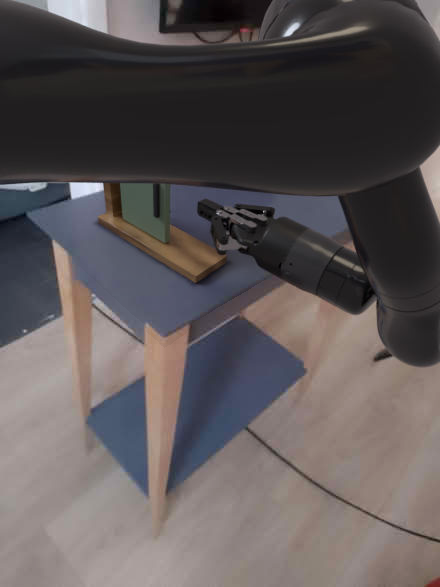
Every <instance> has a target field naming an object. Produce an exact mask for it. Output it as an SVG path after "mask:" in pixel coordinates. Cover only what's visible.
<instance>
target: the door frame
mask: <svg viewBox="0 0 440 587" xmlns="http://www.w3.org/2000/svg"><path fill="white" fill-rule="evenodd" d="M102 184H103V185H102V186H103V187H102V188H103V194H104V205H105V212H104V213H102V214H100V215H98V216H97V222H98V224H99V225H100V226H102V227H104V228H105V229H106V230H108V231H110V232H112V233H113V234H115V235H117V236H119V237H120V238H122V239H123V240H125V241H127V242H128V243H130V244H132V245H133V246H135V247H136V248H138V249H140V250H141V251H143V252H144V253H145V254H148V255H149V256H151V257H153V258H154V259H156V260H157V261H159V262H160V263H162V264H164V265H165V266H167V267H169V268H170V269H172V270H173V271H175V272H177V273H178V274H180V275H182V276H183V277H185V278H187V279H188V280H190V281H191V282H193V283H195V284H197V283H198V282H200V281H201V280H203V279H204V278H206V277H207V276H209V275H210V274H212V273H214V272H215V271H216V270H218V269H220V268H221V267H222V266H224V265H225V264H227V261H228V260H227V259H228V254H225V255H219V254H218V253H217V250H216V248H215V247H212V246H211V245H209V244H208V243H205V242H204V241H201V240H199V239H198V238H197V237H194V236H193V235H191V234H189V233H187V232H185V231H183V230H182V229H180V228H178V227H177V226H174V225H172V224H171V223H170V241H169V242H167V243H163V242H162V241H160V240H158V239H157V238H155V237H153V236H152V235H150V234H148V233H146V232H145V231H143V230H141V229H140V228H138V227H136V226H134V225H133V224H131V223H129V222H128V221H126V220H124V219H123V215H122V203H121V190H120V183H102Z"/></svg>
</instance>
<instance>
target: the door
mask: <svg viewBox="0 0 440 587" xmlns="http://www.w3.org/2000/svg"><path fill="white" fill-rule="evenodd" d="M120 190H121V203H122V215H123V219H124V220H126V221H128V222H129V223H131V224H133V225H134V226H136V227H138V228H140V229H141V230H143V231H145V232H146V233H148V234H150V235H152V236H153V237H155V238H157V239H158V240H160V241H162V242H163V243H167V242H169V241H170V224H171V184H141V183H120Z"/></svg>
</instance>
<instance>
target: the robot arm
mask: <svg viewBox="0 0 440 587" xmlns="http://www.w3.org/2000/svg"><path fill="white" fill-rule="evenodd" d="M260 25H261V26H260V28H259V32H258V36H257V40H249V41H248V40H247V41H233V42H219V43H217V42H216V43H203V44H160V43H152V42H141V41H136V40H132V39H128V38H124V37H119V36H116V35H112V34H109V33H107V32H104V31H100V30H97V29H95V28H92V27H89V26H87V25H84V24H81V23H79V22H77V21H74V20H72V19H69V18H67V17H64V16H61V15H59V14H56V13H54V12H51V11H48V10H46V9H43V8H39V7H36V6H34V5H30V4H29V3H24V2H20V1H16V0H0V186H5V185H6V186H8V185H21V184H22V185H23V184H39V183H71V184H72V183H73V184H74V183H81V184H83V183H84V184H85V183H86V184H103V183H141V184H170V186H171V185H173V186H187V187H197V188H198V187H200V188H209V189H218V190H219V189H220V190H231V191H239V192H240V191H242V192H251V193H262V194H272V195H273V194H274V195H283V196H284V195H285V196H296V197H297V196H298V197H321V198H322V197H337V198H338V201H339V204H340V207H341V210H342V212H343V215H344V218H345V222H346V224H347V228H348V231H349V234H350V238H351V240H352V244H353V247H354V250H353V249H351V248H349V247H347V246H344V245H342V244H341V243H339V242H337V241H336V240H334V239H333V238H331V237H330V236H328V235H325V234H324V233H321V232H319V231H317V230H315V229H312V228H311V227H308V226H306V225H304V224H302V223H300V222H298V221H295V220H294V219H291V218H289V217H287V216H278V217H276V218H275V213H276V208H275V207H273V206H265V205H256V204H245V203H235V204H234V207H232V206H229V205H224V206H223V205H221V204H219V203H217V202H215V201H213V200H210V199H208V198H203V199H202V200H199V201H198V202H197V207H196V212H197V215H198V216H199V217H200V218H203V219H205V220H206V221H208V222H210V230H209V234H210V236H211V239H212V242H213V245H214V249H216V250H217V253H218V254H219V255H227V251H233V250H235V251H236V250H237V252H238V253H240V254H241V255H247V256H251V257H252V258H253V259H254V261H255V263H256V265H257V266H258V267H259V268H260V269H262V270H264V271H265V272H267V273H269V274H271V275H273V276H275V277H276V278H279V279H280V280H282V281H284V282H285V283H287V284H289V285H291V286H293V287H295V288H297V289H299V290H301V291H303V292H304V293H305V292H306V293H308V294H311V295H313V296H314V297H318V298H319V299H321V300H323V301H325V302H326V303H328V304H330V305H332V306H333V307H336V308H337V309H339V310H341V311H343V312H345V313H347V314H349V315H352V316H360V315H362V314H364V313H365V312H366V311H367V310H368V309H369V308H370V307H372V305H373V304H374V303H376V304H375V310H376V312H375V313H376V329H377V333H378V336H379V339H380V341H381V343H382V345H383V346H384V347H385V349H386V350H387V352H388V353H389V354H390V355H391V356H392V357H394V358H395V359H396V360H398V361H399V362H401V363H403V364H404V365H405V364H406V366H410V367H413V368H420V369H421V368H422V369H424V368H425V369H426V368H430V367H433V366H434V367H435V366H437V365H438V364H440V219H439V217H438V213H437V211H436V208H435V206H434V203H433V201H432V198H431V195H430V193H429V190H428V187H427V184H426V181H425V178H424V175H423V173H422V170H421V166H422V165H423V164H424V163H425V162H426V161H427V160H428V159H429V158H430V157H431V156H432V155H434V153H435V152H436V151H437V150H438V149H439V147H440V38H439V36H438V34H437V33H436V31H435V30H434V28H433V26H431V24H430V23H429V21H428V19H427V18H426V16H425V14H424V12H423V10H422V9H421V8H420V6H419V3H418V2H417V1H416V0H272V1H271V2H270V5H269V6H268V8H267V10H266V12H265V14H264V16H263V20H262V23H261V24H260Z"/></svg>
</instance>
